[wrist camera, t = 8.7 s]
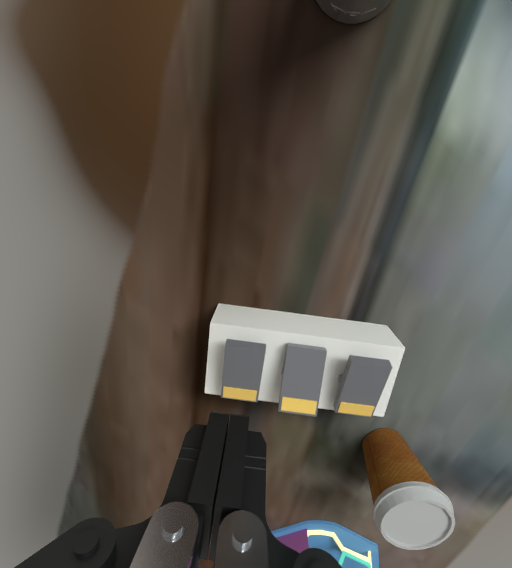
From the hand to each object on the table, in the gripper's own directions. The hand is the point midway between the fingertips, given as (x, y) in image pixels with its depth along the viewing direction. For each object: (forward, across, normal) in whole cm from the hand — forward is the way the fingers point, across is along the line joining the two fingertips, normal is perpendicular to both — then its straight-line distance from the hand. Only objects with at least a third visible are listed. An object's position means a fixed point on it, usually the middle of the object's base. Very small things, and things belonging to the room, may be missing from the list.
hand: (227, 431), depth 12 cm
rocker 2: (+21, -7, +12) cm, 26 cm away
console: (+29, -7, +12) cm, 32 cm away
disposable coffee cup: (+29, -23, +27) cm, 46 cm away
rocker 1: (+21, 0, +12) cm, 25 cm away
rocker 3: (+21, -14, +12) cm, 28 cm away
